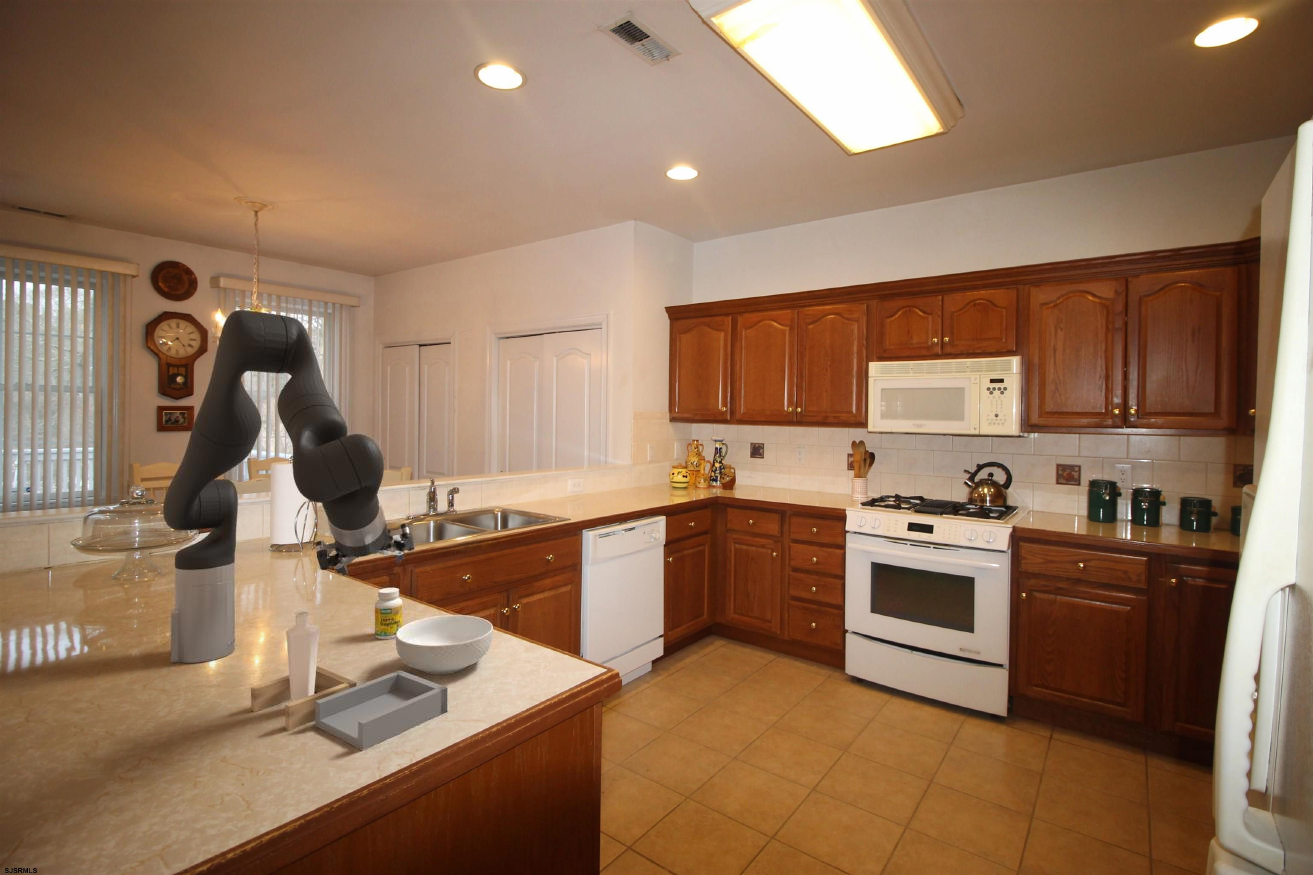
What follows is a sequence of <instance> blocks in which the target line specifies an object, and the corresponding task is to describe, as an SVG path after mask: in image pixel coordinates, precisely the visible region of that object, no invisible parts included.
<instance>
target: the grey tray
mask: <svg viewBox="0 0 1313 875" xmlns="http://www.w3.org/2000/svg"><path fill="white" fill-rule="evenodd" d="M447 712H448V687H447V686H443V685H440V684H438V683H436V682H432V681H431V680H428V679H424V678H423V677H422V678H421V677H419V676H416V675H414V674H411V673H408V672H406V671H403V670H400V669H399V670H397V671H394V672H391V673H388V674H386V675H383V676H380V677H378V678H375V679H372V680H369V681H367V682H364V683H362V684H359V685H358V684H357V686H355V687H353V688H350V689H347V690H345V691H342V692H339V693H336V694H334V695H331V696H328V697H325V698H323V699H320V700H317V701H316V705H315V721H314V722H315V727H317V728H319V729H320V730H322V731H323V732H324V731H325V732H327V733H328V734H330V735H332V736H334V737H336V738H338V739H340V740H342V741H344V742H346V743H348V744H350V745H352V746H353V747H355V748H358V749H359V750H362V751H364V750H367V749H370V748H372V747H374V746H375V745H377V744H380V743H382V742H384V741H387V740H388V739H391V738H393V737H394V736H397V735H399V734H402V733H403V732H406V731H408V730H410V729H413V728H414V727H416V726H418V725H421V724H423V723H425V722H427V721H430V720H432V719H434V718H436V717H439V716H440V715H442V714H445V713H447Z"/></svg>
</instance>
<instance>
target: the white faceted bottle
mask: <svg viewBox="0 0 1313 875" xmlns="http://www.w3.org/2000/svg"><path fill="white" fill-rule="evenodd" d="M310 614H311V611H307V610H302V611H298V612H295V613H294V615H295V625H294V626H292V627H291V628H289V629H287V630H286V631H285V633H286V634H285V636H286V647H287V648H286V649H287V661H288V675H289V677H290V691H291V699H290V700H289V703H291V702H294V701H296V700H299V699H302V698H305V697H308V696H310V695H313V694H315V691H314V688H315V676H316V666H317V662H318V661H317V660H318V649H319V640H320V639H319V638H320V627H319V626H316V625H313V624H310Z"/></svg>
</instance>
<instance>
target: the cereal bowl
mask: <svg viewBox="0 0 1313 875" xmlns="http://www.w3.org/2000/svg"><path fill="white" fill-rule="evenodd" d="M493 636H494V626H493V624H492V623H491V621H489V620H486V619H485V618H482V617H478V616H473V615H467V614H466V615H464V614H446V615H445V614H444V615H437V616H435V615H434V616H430V617H425V618H421V619H420V618H419V619H417V620H413V621H411V622H409V623H406V624H404V625H403V627H401V628H400V629H399V630H398V631H397V633H396V638H395V646H396V647H395V648H396V652H397V655H398V657H399V658H400V659H401V661H403V663H405V665H407V666H409V667H411V668H413V669H415V670H416V669H417V670H420V671H423V672H424V673H427V674H431V675H447V674H448V675H449V674H453V673H457V672H459V671H462V670H463V669H465V668H466V667H468V666H472V665H473V664H474V663H477V662H479V661H480V660H481V659H482V658H483V657H484V656H485V655H486V653H487V652H489V650H490V647H491V644H492V641H493Z"/></svg>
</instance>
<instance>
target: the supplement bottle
mask: <svg viewBox="0 0 1313 875" xmlns="http://www.w3.org/2000/svg"><path fill="white" fill-rule="evenodd" d="M399 596H400V589H399V588H396V587H384V588H382V589H381V588H380V589H379V590H378V592H377V597H378V600H376V601H375V603H374V637H375V638H376V639H379V640H390V639H391V640H393V639H396V633H397V631H398V630H399V629H400V628H401V627H403V626H404V625H403V624H404V623H403V600H402V599H401V598H400V597H399Z"/></svg>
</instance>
